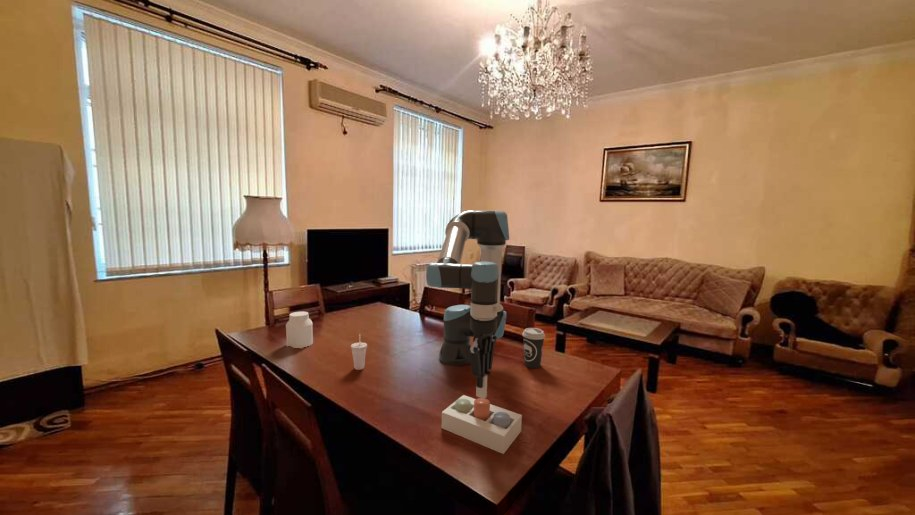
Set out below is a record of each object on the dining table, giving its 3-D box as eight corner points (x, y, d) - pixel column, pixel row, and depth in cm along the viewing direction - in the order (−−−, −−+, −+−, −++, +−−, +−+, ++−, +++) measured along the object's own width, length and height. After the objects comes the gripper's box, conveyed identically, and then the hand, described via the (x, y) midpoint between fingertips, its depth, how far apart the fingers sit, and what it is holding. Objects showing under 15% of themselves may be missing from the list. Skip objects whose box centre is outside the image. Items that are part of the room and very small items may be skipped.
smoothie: (370, 366, 143) (370, 333, 141) (360, 372, 137) (359, 338, 135) (358, 363, 146) (358, 331, 144) (347, 369, 140) (347, 335, 138)
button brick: (470, 422, 101) (471, 403, 100) (478, 415, 105) (478, 396, 104) (484, 428, 98) (485, 408, 98) (492, 420, 102) (492, 401, 101)
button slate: (490, 437, 98) (490, 417, 97) (497, 429, 101) (498, 410, 101) (504, 443, 95) (505, 423, 94) (511, 435, 99) (512, 415, 98)
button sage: (452, 422, 104) (452, 403, 104) (460, 415, 108) (460, 397, 108) (465, 427, 102) (465, 408, 101) (473, 420, 106) (473, 401, 105)
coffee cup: (544, 371, 142) (546, 335, 140) (520, 368, 144) (522, 333, 142) (543, 361, 151) (545, 328, 149) (521, 359, 153) (522, 326, 151)
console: (441, 428, 102) (441, 412, 101) (463, 409, 112) (463, 394, 112) (503, 454, 91) (504, 436, 91) (521, 431, 101) (521, 415, 101)
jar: (316, 343, 167) (315, 313, 165) (298, 350, 159) (297, 318, 157) (301, 339, 172) (300, 309, 171) (283, 345, 164) (281, 314, 162)
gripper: (484, 324, 90) (481, 410, 93) (505, 314, 101) (502, 391, 104) (460, 319, 94) (458, 402, 97) (483, 310, 105) (481, 384, 108)
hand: (481, 396), depth 100 cm, fingers closed
